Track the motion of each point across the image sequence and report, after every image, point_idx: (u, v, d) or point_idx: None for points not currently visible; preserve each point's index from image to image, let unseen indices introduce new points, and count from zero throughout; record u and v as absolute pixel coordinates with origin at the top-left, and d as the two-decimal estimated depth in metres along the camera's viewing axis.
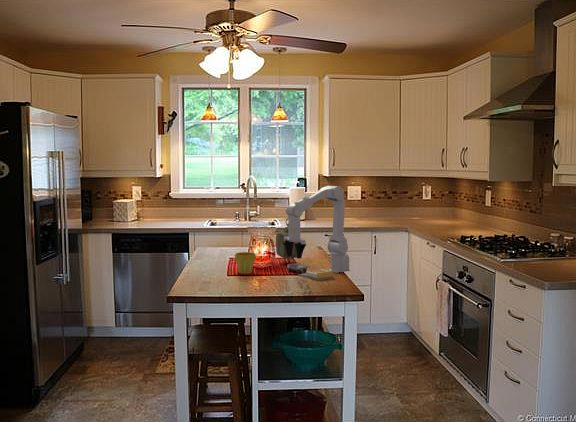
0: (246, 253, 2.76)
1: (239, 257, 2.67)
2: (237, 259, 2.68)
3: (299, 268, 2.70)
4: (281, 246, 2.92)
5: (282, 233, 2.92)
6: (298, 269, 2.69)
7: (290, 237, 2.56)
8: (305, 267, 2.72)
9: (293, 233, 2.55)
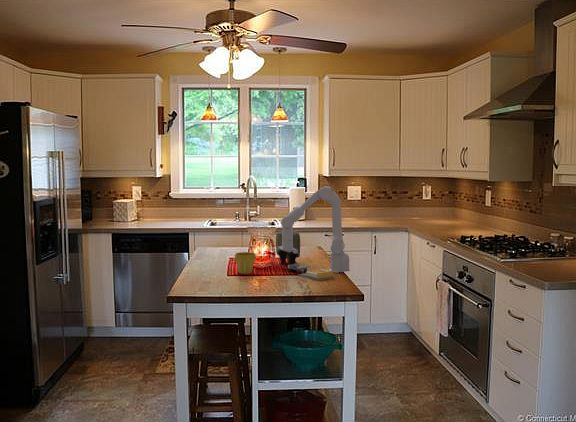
0: (246, 253, 2.76)
1: (239, 257, 2.67)
2: (237, 259, 2.68)
3: (300, 268, 2.69)
4: None
5: None
6: (299, 269, 2.69)
7: (283, 247, 2.78)
8: (306, 267, 2.72)
9: (286, 243, 2.77)
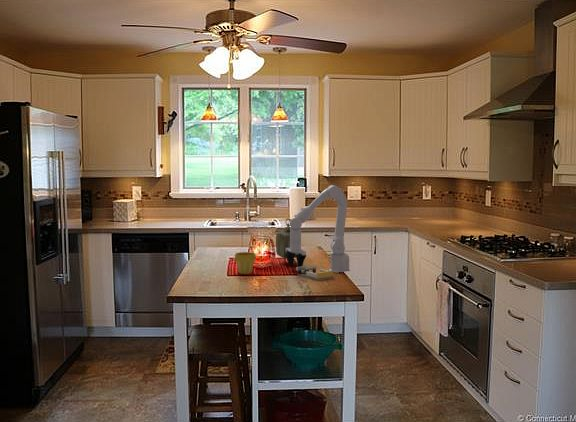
0: (246, 253, 2.76)
1: (239, 257, 2.67)
2: (237, 259, 2.68)
3: (308, 268, 2.64)
4: (281, 246, 2.92)
5: (282, 233, 2.92)
6: (307, 269, 2.64)
7: (291, 248, 2.72)
8: (314, 267, 2.66)
9: (294, 245, 2.72)
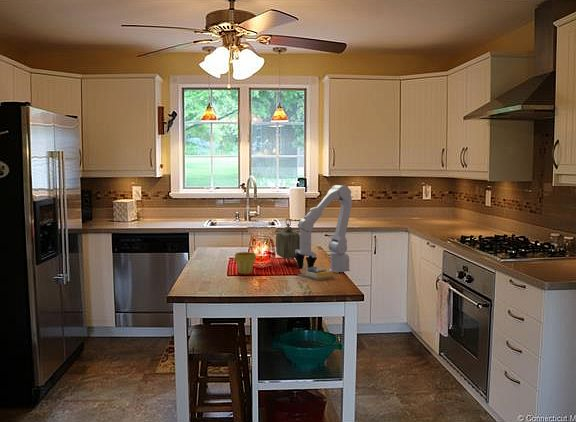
0: (246, 253, 2.76)
1: (239, 257, 2.67)
2: (237, 259, 2.68)
3: (319, 271, 2.57)
4: (281, 246, 2.92)
5: (282, 233, 2.92)
6: (318, 272, 2.57)
7: (301, 250, 2.66)
8: (325, 270, 2.59)
9: (304, 247, 2.65)
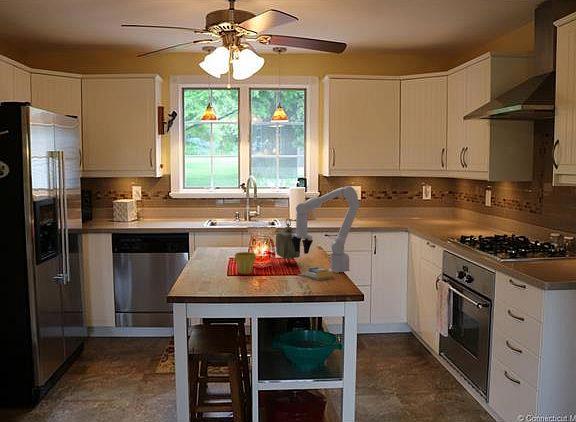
0: (246, 253, 2.76)
1: (239, 257, 2.67)
2: (237, 259, 2.68)
3: (320, 271, 2.56)
4: (281, 246, 2.92)
5: (282, 233, 2.92)
6: (319, 272, 2.56)
7: (298, 234, 2.73)
8: (326, 270, 2.59)
9: (301, 230, 2.72)
